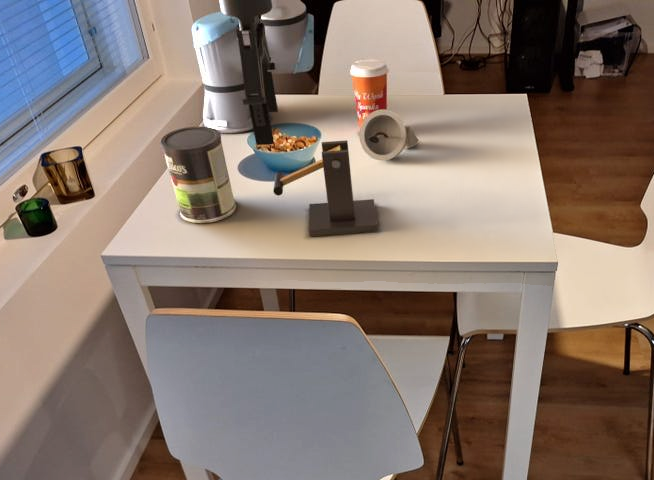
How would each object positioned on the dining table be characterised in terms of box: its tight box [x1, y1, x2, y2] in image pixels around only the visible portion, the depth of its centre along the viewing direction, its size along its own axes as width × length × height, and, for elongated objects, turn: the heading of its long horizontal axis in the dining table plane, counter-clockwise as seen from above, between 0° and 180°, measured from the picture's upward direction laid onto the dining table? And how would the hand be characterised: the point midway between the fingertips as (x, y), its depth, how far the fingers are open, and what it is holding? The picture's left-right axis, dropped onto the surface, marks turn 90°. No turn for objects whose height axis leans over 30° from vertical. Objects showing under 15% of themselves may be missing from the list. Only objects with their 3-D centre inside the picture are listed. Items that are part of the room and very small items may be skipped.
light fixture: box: [359, 109, 419, 161], centre depth 140 cm, size 11×16×10 cm, turn 164°
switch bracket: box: [308, 139, 378, 238], centre depth 117 cm, size 12×10×14 cm
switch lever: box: [273, 145, 342, 197], centre depth 114 cm, size 13×6×2 cm, turn 96°
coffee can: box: [159, 126, 237, 224], centre depth 121 cm, size 10×10×14 cm
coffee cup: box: [349, 58, 390, 129], centre depth 147 cm, size 8×8×15 cm
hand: (267, 127), depth 110 cm, fingers open, 13 cm apart
